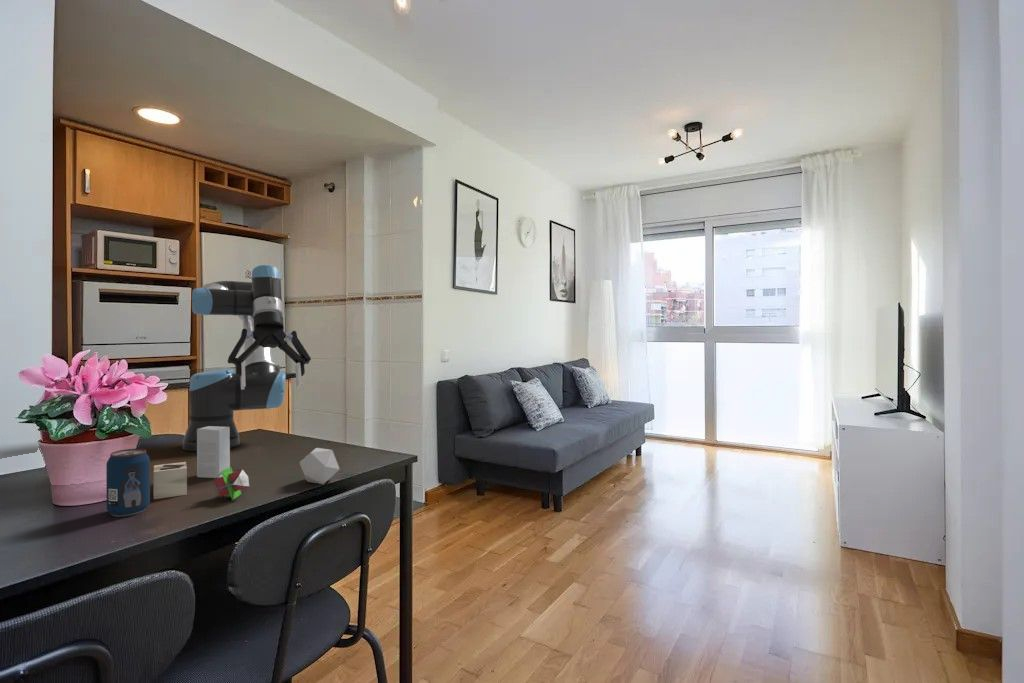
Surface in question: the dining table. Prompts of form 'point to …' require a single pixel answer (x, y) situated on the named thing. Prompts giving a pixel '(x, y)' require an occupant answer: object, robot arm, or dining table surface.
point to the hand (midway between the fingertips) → (272, 387)
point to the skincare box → (212, 451)
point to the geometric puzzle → (231, 482)
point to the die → (319, 465)
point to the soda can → (128, 482)
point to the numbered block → (170, 480)
